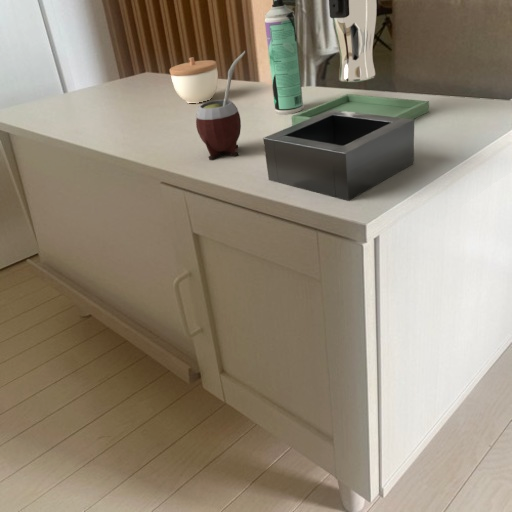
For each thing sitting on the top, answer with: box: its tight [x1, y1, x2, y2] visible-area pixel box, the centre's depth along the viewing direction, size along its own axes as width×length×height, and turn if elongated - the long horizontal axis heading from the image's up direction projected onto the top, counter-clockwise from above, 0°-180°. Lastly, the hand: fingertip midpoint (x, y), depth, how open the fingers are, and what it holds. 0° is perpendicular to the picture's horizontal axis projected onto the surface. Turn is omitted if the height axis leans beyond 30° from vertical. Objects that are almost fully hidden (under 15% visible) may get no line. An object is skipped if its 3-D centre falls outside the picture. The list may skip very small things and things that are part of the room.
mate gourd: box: [195, 50, 246, 161], centre depth 84 cm, size 8×8×15 cm
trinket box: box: [169, 56, 219, 104], centre depth 122 cm, size 11×11×9 cm
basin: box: [262, 110, 415, 202], centre depth 72 cm, size 14×14×6 cm
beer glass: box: [332, 0, 378, 83], centre depth 87 cm, size 7×7×15 cm
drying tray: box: [290, 93, 430, 126], centre depth 94 cm, size 18×16×2 cm
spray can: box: [264, 0, 304, 115], centre depth 101 cm, size 6×6×20 cm
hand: (354, 12), depth 86 cm, fingers closed on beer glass, 7 cm apart
